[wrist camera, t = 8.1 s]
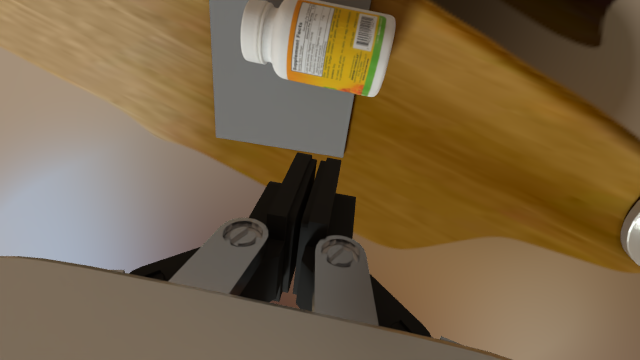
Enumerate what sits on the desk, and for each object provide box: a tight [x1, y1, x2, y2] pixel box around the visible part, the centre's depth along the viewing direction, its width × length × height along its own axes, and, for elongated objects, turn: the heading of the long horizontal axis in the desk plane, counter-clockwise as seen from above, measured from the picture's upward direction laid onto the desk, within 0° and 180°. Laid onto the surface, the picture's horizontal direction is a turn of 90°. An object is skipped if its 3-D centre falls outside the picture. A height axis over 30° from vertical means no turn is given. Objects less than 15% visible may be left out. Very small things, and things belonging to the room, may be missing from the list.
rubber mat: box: [209, 0, 371, 158], centre depth 26 cm, size 12×13×1 cm
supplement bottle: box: [240, 0, 396, 97], centre depth 22 cm, size 5×5×10 cm
